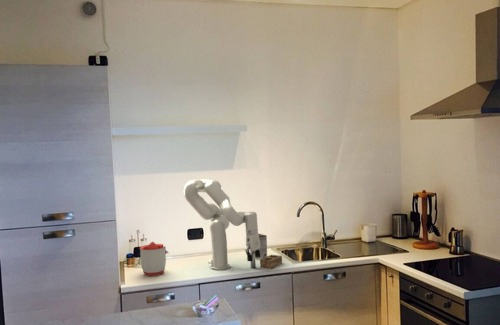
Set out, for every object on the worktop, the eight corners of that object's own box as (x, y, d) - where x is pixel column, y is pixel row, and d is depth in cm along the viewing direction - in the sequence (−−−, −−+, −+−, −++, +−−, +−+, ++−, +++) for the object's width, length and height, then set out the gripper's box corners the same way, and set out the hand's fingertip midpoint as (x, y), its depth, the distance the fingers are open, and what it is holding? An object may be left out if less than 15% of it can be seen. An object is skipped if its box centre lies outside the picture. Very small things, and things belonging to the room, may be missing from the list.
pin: (249, 268, 291) (249, 252, 291) (252, 267, 294) (251, 251, 293) (254, 268, 290) (253, 252, 289) (256, 267, 292) (255, 251, 292)
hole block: (260, 267, 291) (260, 259, 291) (271, 262, 303) (270, 254, 303) (271, 269, 287) (271, 260, 287) (282, 263, 299) (281, 255, 299)
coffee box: (251, 258, 316) (250, 234, 316) (259, 256, 320) (258, 233, 319) (260, 260, 309) (259, 236, 308) (267, 258, 313) (266, 234, 312)
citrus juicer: (172, 274, 285) (170, 241, 284) (143, 278, 278) (141, 245, 277) (166, 268, 299) (164, 237, 298) (139, 272, 292) (137, 241, 292)
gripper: (249, 234, 281) (252, 263, 282) (264, 229, 296) (266, 256, 297) (239, 234, 285) (241, 262, 286) (253, 229, 300) (255, 255, 301)
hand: (254, 259), depth 291 cm, fingers open, 9 cm apart
